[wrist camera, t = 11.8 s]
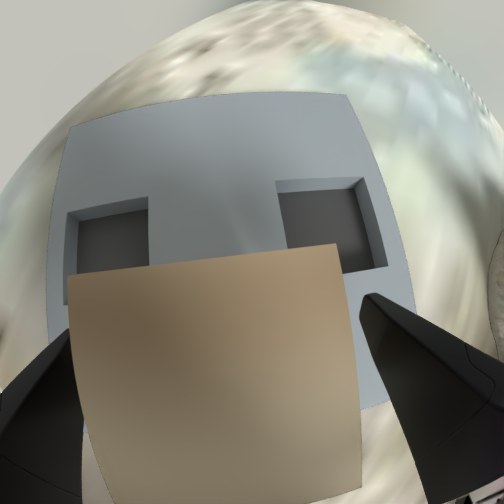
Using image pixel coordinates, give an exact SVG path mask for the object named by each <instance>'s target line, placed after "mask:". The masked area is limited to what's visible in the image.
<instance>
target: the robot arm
mask: <svg viewBox="0 0 504 504" xmlns="http://www.w3.org/2000/svg"><path fill="white" fill-rule="evenodd" d="M359 321H360V324H361V326H362V329H363V332H364V335H365V338H366V341H367V344H368V347H369V350H370V353H371V356H372V358H373V361H374V363H375V366H376V368H377V370H378V372H379V375H380V377H381V379H382V381H383V384H384V386H385V388H386V390H387V393H388V395H389V397H390V400H391V402H392V405H393V407H394V409H395V412H396V414H397V417H398V419H399V422H400V424H401V427H402V429H403V432H404V434H405V437H406V440H407V442H408V445H409V448H410V450H411V453H412V456H413V459H414V461H415V465H416V468H417V470H418V473H419V476H420V479H421V482H422V485H423V488H424V492H425V495H426V498H427V501H428V504H443V503H446V502H448V501H451V500H454V499H456V498H459V497H460V498H459V499H457V501H456V503H455V504H504V363H503V362H501V361H499V360H497V359H495V358H493V357H491V356H489V355H487V354H485V353H483V352H482V351H480V350H478V349H476V348H474V347H473V346H471V345H469V344H468V343H466V342H464V341H462V340H461V339H459V338H457V337H455V336H454V335H452V334H450V333H448V332H447V331H445V330H443V329H442V328H440V327H438V326H436V325H434V324H433V323H431V322H429V321H427V320H426V319H424V318H422V317H420V316H419V315H417V314H415V313H413V312H411V311H410V310H408V309H406V308H404V307H402V306H401V305H399V304H397V303H395V302H393V301H391V300H390V299H388V298H386V297H384V296H382V295H381V294H379V293H376V292H374V293H369V294H366V295H364V297H363V300H362V304H361V308H360V312H359ZM83 428H84V416H83V412H82V407H81V403H80V398H79V394H78V389H77V383H76V378H75V372H74V365H73V358H72V350H71V342H70V331H69V328H67V329H66V330H65V331H63V332H62V333H61V334H60V335H59V336H58V337H57V338H56V339H55V340H54V341H53V342H52V343H50V344H49V345H48V346H47V347H46V348H45V349H44V350H43V351H42V352H41V353H40V354H39V355H38V356H37V357H36V358H35V359H34V360H33V361H32V362H31V363H30V364H29V365H28V366H27V367H26V368H25V369H24V370H23V371H22V372H21V373H20V374H19V375H18V376H17V377H16V378H15V379H14V380H13V381H12V382H11V383H10V384H9V385H8V386H7V387H6V388H5V389H4V390H3V391H2V393H0V504H83V503H82V443H83ZM461 496H462V497H461Z"/></svg>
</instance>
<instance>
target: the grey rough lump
mask: <svg viewBox="0 0 504 504" xmlns="http://www.w3.org/2000/svg"><path fill="white" fill-rule="evenodd" d="M488 301H489V304H488V306H489V319H490V322H491V328H492V331H493V335H494V339H495V341H496V346H497V350H498V357H499V361H501V362H503V363H504V231H502V234H501V236H500V238H499V241H498V245H497V246H496V248H495V250H494V253H493V256H492V262H491V263H490V267H489V274H488Z"/></svg>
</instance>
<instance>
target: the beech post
mask: <svg viewBox="0 0 504 504" xmlns="http://www.w3.org/2000/svg"><path fill="white" fill-rule="evenodd" d="M67 295H68V318H69V331H70V342H71V350H72V358H73V365H74V372H75V378H76V383H77V389H78V394H79V398H80V403H81V407H82V412H83V416H84V420H85V423H86V427H87V431H88V434H89V438H90V441H91V444H92V447H93V450H94V453H95V456H96V459H97V462H98V465H99V467H100V470H101V473H102V475H103V478H104V480H105V483H106V485H107V488H108V490H109V492H110V494H111V497H112V499H113V501H114V503H115V504H308V503H312V502H316V501H320V500H324V499H327V498H331V497H334V496H338V495H341V494H344V493H347V492H350V491H353V490H356V489H358V488H361V487H362V434H361V414H360V400H359V387H358V377H357V367H356V358H355V350H354V342H353V335H352V328H351V321H350V314H349V308H348V302H347V296H346V291H345V285H344V280H343V274H342V269H341V264H340V259H339V255H338V250H337V245H336V243H334V244H326V245H318V246H309V247H301V248H293V249H285V250H276V251H268V252H260V253H251V254H243V255H235V256H226V257H218V258H210V259H201V260H193V261H185V262H176V263H168V264H159V265H151V266H143V267H134V268H126V269H117V270H109V271H100V272H92V273H83V274H75V275H67Z"/></svg>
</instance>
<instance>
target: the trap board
mask: <svg viewBox="0 0 504 504" xmlns="http://www.w3.org/2000/svg"><path fill="white" fill-rule="evenodd" d="M334 243H336V245H337V250H338V255H339V259H340V264H341V269H342V274H343V280H344V285H345V291H346V296H347V302H348V308H349V314H350V321H351V328H352V335H353V342H354V350H355V358H356V367H357V377H358V387H359V400H360V411H361V410H364V409H367V408H370V407H372V406H375V405H378V404H381V403H383V402H386V401H388V400H390V397H389V395H388V393H387V390H386V388H385V386H384V384H383V381H382V379H381V377H380V375H379V372H378V370H377V368H376V366H375V363H374V361H373V358H372V356H371V353H370V350H369V347H368V344H367V341H366V338H365V335H364V332H363V329H362V326H361V324H360V321H359V312H360V308H361V304H362V300H363V297H364V295H366V294H369V293H374V292H376V293H379V294H381V295H382V296H384V297H386V298H388V299H390V300H391V301H393V302H395V303H397V304H399V305H401V306H402V307H404V308H406V309H408V310H410V311H411V312H413V313H415V314H417V312H416V305H415V299H414V293H413V288H412V283H411V278H410V273H409V268H408V264H407V259H406V255H405V251H404V247H403V243H402V239H401V235H400V232H399V228H398V225H397V221H396V218H395V214H394V211H393V208H392V205H391V202H390V198H389V195H388V192H387V189H386V187H385V184H384V181H383V178H382V175H381V173H380V170H379V167H378V165H377V162H376V159H375V157H374V154H373V152H372V150H371V147H370V145H369V142H368V140H367V138H366V135H365V133H364V131H363V129H362V126H361V124H360V122H359V120H358V118H357V116H356V114H355V111H354V109H353V107H352V105H351V103H350V101H349V99H348V97H347V95H342V94H330V93H313V92H253V93H236V94H223V95H213V96H204V97H196V98H189V99H182V100H176V101H170V102H164V103H159V104H154V105H149V106H144V107H140V108H135V109H131V110H127V111H123V112H119V113H115V114H111V115H108V116H104V117H101V118H97V119H94V120H91V121H88V122H85V123H82V124H79V125H76V126H73V127H71V128H70V131H69V134H68V138H67V141H66V145H65V148H64V152H63V156H62V160H61V164H60V169H59V173H58V178H57V183H56V188H55V193H54V199H53V205H52V212H51V219H50V228H49V237H48V249H47V267H46V310H47V327H48V339H49V344H50V343H52V342H53V341H54V340H55V339H56V338H57V337H58V336H59V335H60V334H61V333H62V332H63V331H65V330H66V329H67V328H69V318H68V295H67V275H75V274H83V273H92V272H100V271H109V270H117V269H126V268H134V267H143V266H151V265H159V264H168V263H176V262H185V261H193V260H201V259H210V258H218V257H226V256H235V255H243V254H251V253H260V252H268V251H276V250H285V249H293V248H301V247H309V246H318V245H326V244H334ZM83 433H87V434H88V431H87V427H86V423H85V420H84V428H83Z"/></svg>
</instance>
